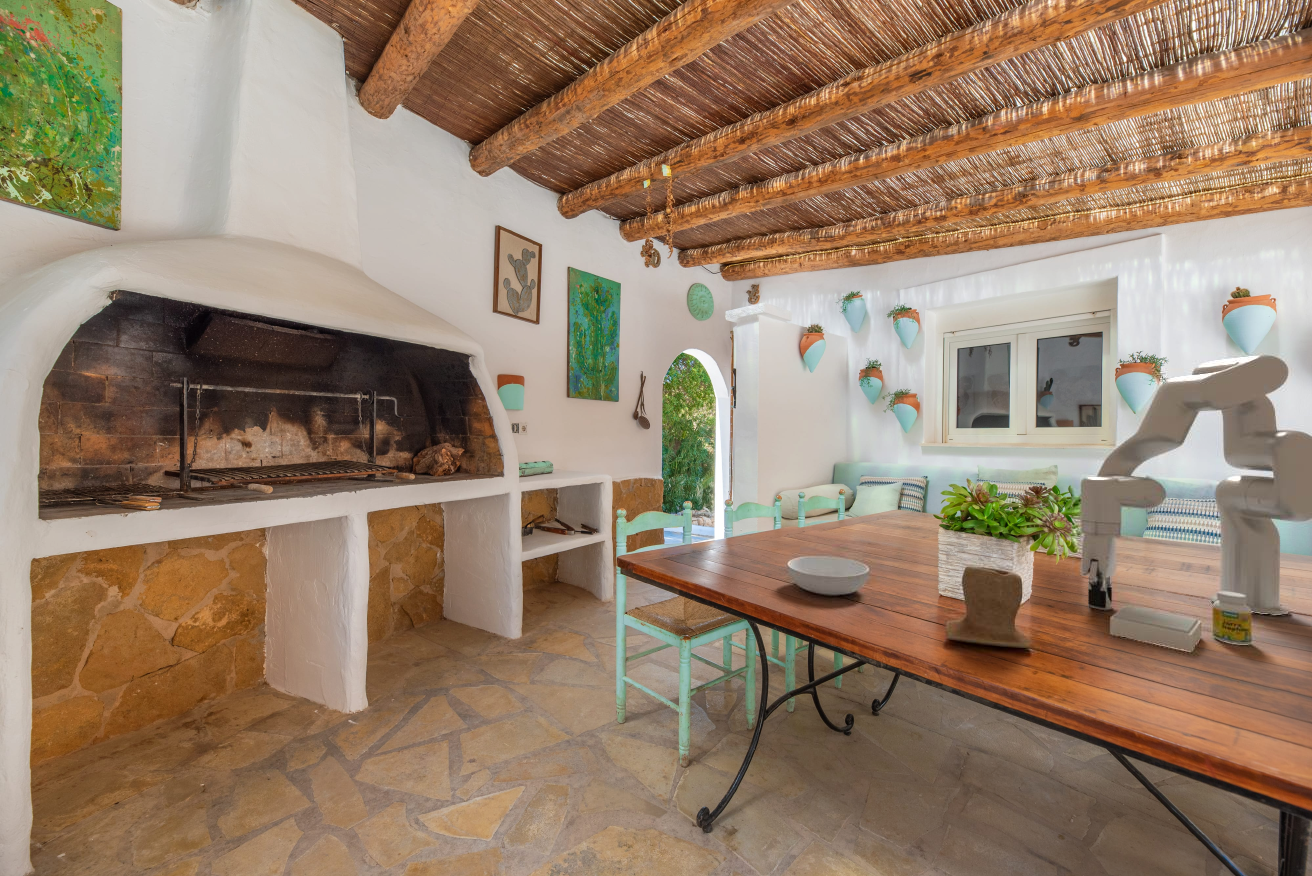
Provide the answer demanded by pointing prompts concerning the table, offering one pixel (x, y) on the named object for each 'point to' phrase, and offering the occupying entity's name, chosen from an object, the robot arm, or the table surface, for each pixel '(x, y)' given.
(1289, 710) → the table surface
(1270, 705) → the table surface
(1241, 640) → the supplement bottle
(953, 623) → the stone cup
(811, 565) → the serving bowl
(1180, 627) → the plinth
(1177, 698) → the table surface
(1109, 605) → the rook chess piece
